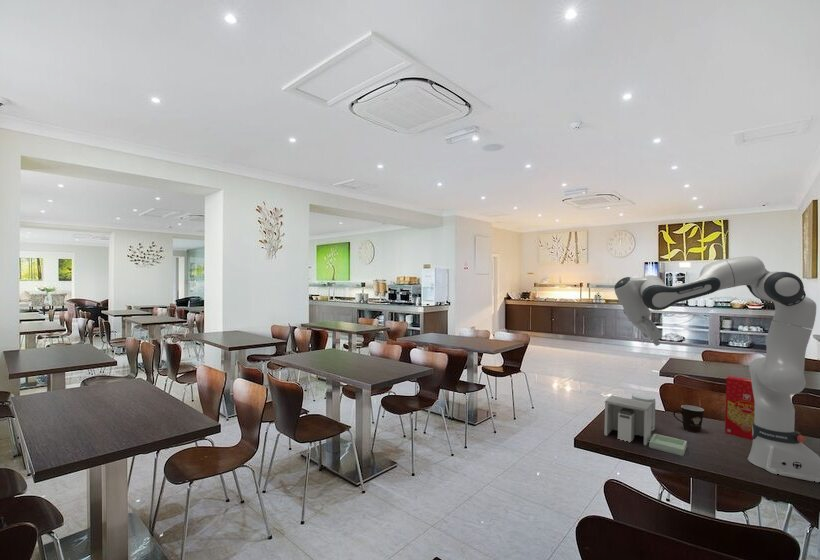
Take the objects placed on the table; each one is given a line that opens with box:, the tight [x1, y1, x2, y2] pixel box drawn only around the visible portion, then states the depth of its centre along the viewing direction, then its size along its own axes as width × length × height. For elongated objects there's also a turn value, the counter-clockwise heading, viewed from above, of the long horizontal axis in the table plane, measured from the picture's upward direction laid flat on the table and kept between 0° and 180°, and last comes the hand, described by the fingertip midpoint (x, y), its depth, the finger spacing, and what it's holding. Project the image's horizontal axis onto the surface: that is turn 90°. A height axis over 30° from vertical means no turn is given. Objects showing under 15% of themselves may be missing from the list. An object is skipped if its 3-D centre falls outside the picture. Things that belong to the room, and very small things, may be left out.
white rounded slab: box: [631, 393, 656, 432], centre depth 185 cm, size 10×10×15 cm
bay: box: [603, 395, 652, 446], centre depth 174 cm, size 16×11×15 cm
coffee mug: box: [673, 404, 705, 434], centre depth 185 cm, size 12×9×10 cm
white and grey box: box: [617, 408, 635, 443], centre depth 171 cm, size 5×8×12 cm, turn 140°
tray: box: [648, 433, 688, 457], centre depth 163 cm, size 12×12×2 cm
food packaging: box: [724, 375, 755, 441], centre depth 177 cm, size 15×5×25 cm, turn 41°
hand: (651, 340), depth 172 cm, fingers open, 8 cm apart
